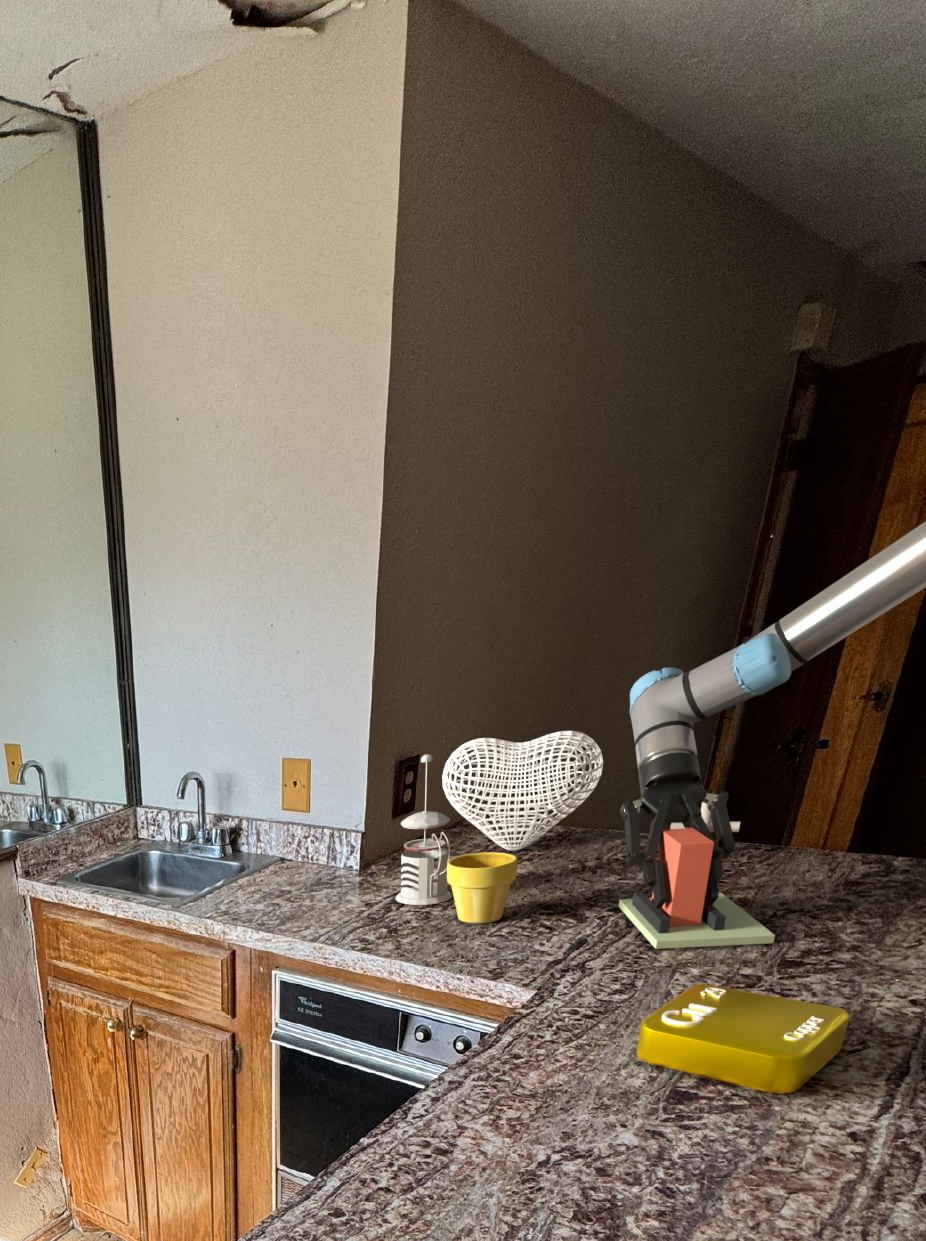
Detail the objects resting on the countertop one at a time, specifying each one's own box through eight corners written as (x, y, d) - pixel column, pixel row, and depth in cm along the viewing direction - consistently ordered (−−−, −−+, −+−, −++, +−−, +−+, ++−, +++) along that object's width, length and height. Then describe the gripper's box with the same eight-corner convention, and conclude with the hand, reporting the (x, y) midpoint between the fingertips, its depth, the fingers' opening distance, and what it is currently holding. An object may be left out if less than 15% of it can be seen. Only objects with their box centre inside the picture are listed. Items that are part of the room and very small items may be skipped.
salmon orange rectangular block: (680, 906, 134) (692, 827, 129) (700, 925, 126) (714, 842, 121) (650, 908, 135) (661, 830, 130) (668, 927, 128) (680, 844, 122)
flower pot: (448, 908, 153) (450, 852, 149) (515, 907, 148) (519, 849, 144) (442, 927, 145) (444, 869, 141) (512, 927, 140) (516, 867, 136)
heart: (594, 838, 177) (606, 721, 168) (593, 858, 166) (607, 734, 156) (445, 843, 191) (448, 735, 181) (434, 862, 179) (438, 748, 169)
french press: (434, 885, 165) (438, 746, 155) (469, 900, 155) (476, 752, 144) (385, 895, 165) (385, 756, 154) (417, 910, 154) (420, 763, 143)
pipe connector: (664, 862, 157) (672, 805, 153) (669, 848, 164) (676, 793, 160) (733, 862, 151) (743, 803, 147) (735, 847, 158) (745, 791, 154)
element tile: (789, 1099, 87) (799, 1056, 85) (628, 1059, 99) (633, 1020, 96) (847, 1046, 94) (858, 1005, 92) (690, 1014, 106) (696, 977, 104)
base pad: (720, 900, 137) (724, 880, 136) (773, 943, 120) (778, 921, 119) (618, 906, 141) (620, 887, 140) (655, 949, 124) (658, 927, 123)
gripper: (730, 773, 134) (752, 910, 127) (591, 787, 139) (606, 918, 132) (750, 741, 127) (775, 884, 120) (603, 757, 133) (619, 894, 126)
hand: (686, 902), depth 126 cm, fingers open, 6 cm apart
